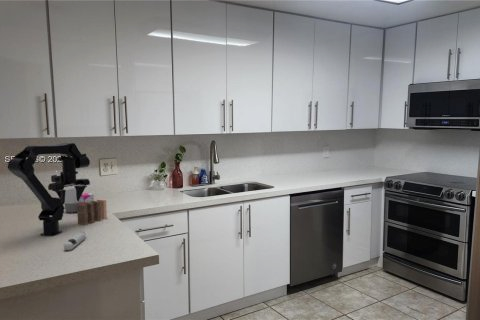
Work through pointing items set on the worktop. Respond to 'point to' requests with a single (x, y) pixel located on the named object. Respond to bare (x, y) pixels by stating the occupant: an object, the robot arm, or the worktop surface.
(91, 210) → the domino
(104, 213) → the end domino
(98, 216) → the domino
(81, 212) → the domino
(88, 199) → the supplement box
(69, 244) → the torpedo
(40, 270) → the worktop surface
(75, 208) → the smart speaker
